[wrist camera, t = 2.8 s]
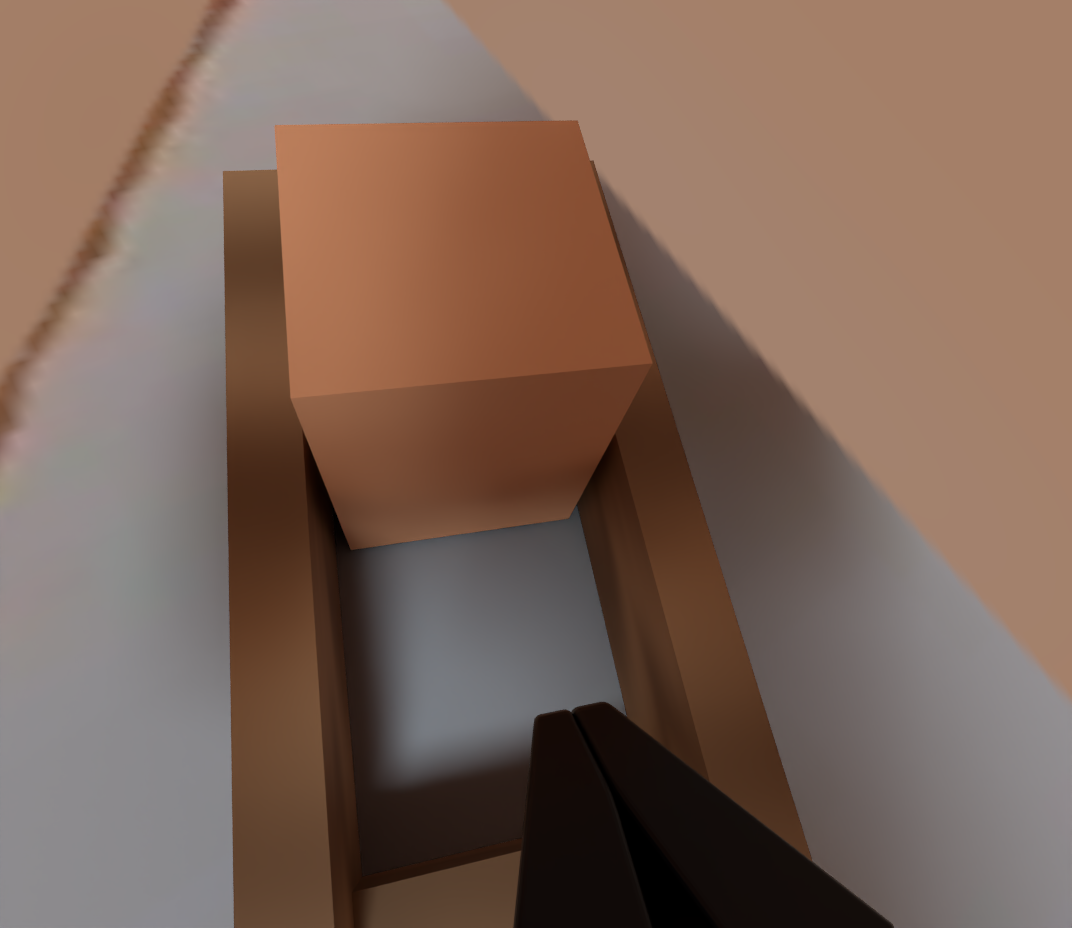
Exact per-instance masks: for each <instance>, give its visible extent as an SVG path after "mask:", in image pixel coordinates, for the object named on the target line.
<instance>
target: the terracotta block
mask: <svg viewBox="0 0 1072 928" xmlns="http://www.w3.org/2000/svg"><path fill="white" fill-rule="evenodd" d="M275 140H276V157H277V174H278V191H279V209H280V226H281V243H282V260H283V278H284V295H285V312H286V329H287V347H288V364H289V381H290V398H291V401H292V403H293V406H294V408H295V411H296V413H297V416H298V418H299V421H300V424H301V426H302V429H303V431H304V434H305V436H306V439H307V441H308V444H309V446H310V449H311V451H312V454H313V456H314V459H315V461H316V464H317V466H318V469H319V471H320V474H321V476H322V479H323V481H324V484H325V486H326V489H327V491H328V494H329V496H330V499H331V501H332V504H333V506H334V509H335V511H336V514H337V516H338V519H339V522H340V524H341V527H342V529H343V532H344V534H345V537H346V539H347V542H348V544H349V547H350V549H351V550H354V549H361V548H368V547H375V546H382V545H389V544H396V543H403V542H410V541H417V540H424V539H431V538H438V537H445V536H451V535H458V534H465V533H472V532H479V531H486V530H493V529H500V528H507V527H514V526H521V525H528V524H535V523H542V522H549V521H555V520H562V519H569V517H570V515H571V513H572V511H573V510H574V508H575V506H576V504H577V502H578V500H579V499H580V497H581V495H582V493H583V491H584V489H585V487H586V486H587V484H588V482H589V480H590V478H591V476H592V475H593V473H594V471H595V469H596V467H597V465H598V463H599V462H600V460H601V458H602V456H603V454H604V452H605V451H606V449H607V447H608V445H609V443H610V441H611V439H612V438H613V436H614V434H615V432H616V430H617V428H618V427H619V425H620V423H621V421H622V419H623V417H624V415H625V414H626V412H627V410H628V408H629V406H630V404H631V403H632V401H633V399H634V397H635V395H636V393H637V391H638V390H639V388H640V386H641V384H642V382H643V380H644V379H645V377H646V375H647V373H648V371H649V369H650V367H651V366H652V364H653V363H652V360H651V356H650V353H649V350H648V347H647V343H646V340H645V337H644V334H643V331H642V327H641V324H640V321H639V318H638V314H637V311H636V308H635V305H634V301H633V298H632V295H631V292H630V289H629V285H628V282H627V279H626V276H625V272H624V269H623V266H622V263H621V260H620V256H619V253H618V250H617V247H616V243H615V240H614V237H613V234H612V231H611V227H610V224H609V221H608V218H607V214H606V211H605V208H604V205H603V202H602V198H601V195H600V192H599V189H598V185H597V182H596V179H595V176H594V173H593V169H592V166H591V163H590V160H589V156H588V153H587V150H586V147H585V143H584V140H583V137H582V134H581V131H580V127H579V124H578V121H518V122H454V123H389V124H325V125H275Z"/></svg>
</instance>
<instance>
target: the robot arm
mask: <svg viewBox="0 0 1072 928" xmlns="http://www.w3.org/2000/svg"><path fill="white" fill-rule="evenodd" d="M513 928H894V926H893V924H892V923H891V922H889V921H888V920H887V919H885V918H884V917H883V916H882V915H880V914H879V913H878V912H876V911H875V910H874V909H873V908H871V907H870V906H869V905H867V904H866V903H865V902H864V901H862V900H861V899H860V898H858V897H857V896H856V895H855V894H853V893H852V892H851V891H849V890H848V889H847V888H846V887H844V886H843V885H842V884H841V883H839V882H838V881H837V880H835V879H834V878H833V877H832V876H830V875H829V874H828V873H826V872H825V871H824V870H823V869H821V868H820V867H819V866H817V865H816V864H815V863H814V862H812V861H811V860H810V859H808V858H807V857H806V856H805V855H803V854H802V853H801V852H799V851H798V850H797V849H796V848H794V847H793V846H792V845H790V844H789V843H788V842H787V841H785V840H784V839H783V838H781V837H780V836H779V835H778V834H776V833H775V832H774V831H772V830H771V829H770V828H769V827H767V826H766V825H765V824H763V823H762V822H761V821H760V820H758V819H757V818H756V817H754V816H753V815H752V814H751V813H749V812H748V811H747V810H745V809H744V808H743V807H742V806H740V805H739V804H738V803H736V802H735V801H734V800H733V799H731V798H730V797H729V796H727V795H726V794H725V793H724V792H722V791H721V790H720V789H718V788H717V787H716V786H715V785H713V784H712V783H711V782H709V781H708V780H707V779H706V778H704V777H703V776H702V775H700V774H699V773H698V772H697V771H695V770H694V769H693V768H691V767H690V766H689V765H688V764H686V763H685V762H684V761H682V760H681V759H680V758H679V757H677V756H676V755H675V754H673V753H672V752H671V751H670V750H668V749H667V748H666V747H664V746H663V745H662V744H661V743H659V742H658V741H657V740H655V739H654V738H653V737H652V736H650V735H649V734H648V733H647V732H645V731H644V730H643V729H641V728H640V727H639V726H638V725H636V724H635V723H634V722H632V721H631V720H630V719H629V718H627V717H626V716H625V715H623V714H622V713H621V712H620V711H618V710H617V709H616V708H614V707H613V706H612V705H610V704H608V703H606V702H598V703H594V704H589V705H584V706H579V707H576V708H574V709H573V710H572V712H570V711H568V710H559V711H555V712H550V713H545V714H540V715H538V716H537V717H536V718H535V720H534V726H533V736H532V746H531V756H530V766H529V776H528V786H527V795H526V805H525V815H524V825H523V835H522V845H521V855H520V865H519V874H518V884H517V894H516V904H515V914H514V924H513Z"/></svg>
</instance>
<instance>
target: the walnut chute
mask: <svg viewBox="0 0 1072 928" xmlns="http://www.w3.org/2000/svg"><path fill="white" fill-rule="evenodd" d="M590 163H591V166H592V169H593V173H594V176H595V179H596V182H597V185H598V189H599V192H600V195H601V198H602V202H603V205H604V208H605V211H606V214H607V218H608V221H609V224H610V227H611V231H612V234H613V237H614V240H615V243H616V247H617V250H618V253H619V256H620V260H621V263H622V266H623V269H624V272H625V276H626V279H627V282H628V285H629V289H630V292H631V295H632V298H633V301H634V305H635V308H636V311H637V314H638V318H639V321H640V324H641V327H642V331H643V334H644V337H645V340H646V343H647V347H648V350H649V353H650V356H651V360H652V363H653V364H652V366H651V367H650V369H649V371H648V373H647V375H646V377H645V379H644V380H643V382H642V384H641V386H640V388H639V390H638V391H637V393H636V395H635V397H634V399H633V401H632V403H631V404H630V406H629V408H628V410H627V412H626V414H625V415H624V417H623V419H622V421H621V423H620V425H619V427H618V428H617V430H616V432H615V434H614V436H613V438H612V439H611V441H610V443H609V445H608V447H607V449H606V451H605V452H604V454H603V456H602V458H601V460H600V462H599V463H598V465H597V467H596V469H595V471H594V473H593V475H592V476H591V478H590V480H589V482H588V484H587V486H586V487H585V489H584V491H583V493H582V495H581V497H580V499H579V500H578V502H577V505H578V509H579V514H580V518H581V522H582V527H583V531H584V535H585V539H586V544H587V548H588V552H589V556H590V561H591V565H592V569H593V573H594V578H595V582H596V586H597V590H598V595H599V599H600V603H601V607H602V612H603V616H604V620H605V624H606V629H607V633H608V637H609V641H610V646H611V650H612V654H613V658H614V663H615V667H616V671H617V675H618V680H619V684H620V688H621V692H622V697H623V701H624V705H625V709H626V714H627V718H629V719H630V720H631V721H632V722H634V723H635V724H636V725H638V726H639V727H640V728H641V729H643V730H644V731H645V732H647V733H648V734H649V735H650V736H652V737H653V738H654V739H655V740H657V741H658V742H659V743H661V744H662V745H663V746H664V747H666V748H667V749H668V750H670V751H671V752H672V753H673V754H675V755H676V756H677V757H679V758H680V759H681V760H682V761H684V762H685V763H686V764H688V765H689V766H690V767H691V768H693V769H694V770H695V771H697V772H698V773H699V774H700V775H702V776H703V777H704V778H706V779H707V780H708V781H709V782H711V783H712V784H713V785H715V786H716V787H717V788H718V789H720V790H721V791H722V792H724V793H725V794H726V795H727V796H729V797H730V798H731V799H733V800H734V801H735V802H736V803H738V804H739V805H740V806H742V807H743V808H744V809H745V810H747V811H748V812H749V813H751V814H752V815H753V816H754V817H756V818H757V819H758V820H760V821H761V822H762V823H763V824H765V825H766V826H767V827H769V828H770V829H771V830H772V831H774V832H775V833H776V834H778V835H779V836H780V837H781V838H783V839H784V840H785V841H787V842H788V843H789V844H790V845H792V846H793V847H794V848H796V849H797V850H798V851H799V852H801V853H802V854H803V855H805V856H806V857H807V858H808V859H810V860H811V861H812V858H811V855H810V852H809V849H808V845H807V842H806V839H805V836H804V833H803V829H802V826H801V823H800V820H799V817H798V813H797V810H796V807H795V804H794V801H793V798H792V794H791V791H790V788H789V785H788V782H787V778H786V775H785V772H784V769H783V766H782V762H781V759H780V756H779V753H778V750H777V746H776V743H775V740H774V737H773V734H772V730H771V727H770V724H769V721H768V718H767V714H766V711H765V708H764V705H763V702H762V698H761V695H760V692H759V689H758V686H757V682H756V679H755V676H754V673H753V670H752V666H751V663H750V660H749V657H748V654H747V650H746V647H745V644H744V641H743V638H742V635H741V631H740V628H739V625H738V622H737V619H736V615H735V612H734V609H733V606H732V603H731V599H730V596H729V593H728V590H727V587H726V583H725V580H724V577H723V574H722V571H721V567H720V564H719V561H718V558H717V555H716V551H715V548H714V545H713V542H712V539H711V535H710V532H709V529H708V526H707V523H706V519H705V516H704V513H703V510H702V507H701V503H700V500H699V497H698V494H697V491H696V487H695V484H694V481H693V478H692V475H691V472H690V468H689V465H688V462H687V459H686V456H685V452H684V449H683V446H682V443H681V440H680V436H679V433H678V430H677V427H676V424H675V420H674V417H673V414H672V411H671V408H670V404H669V401H668V398H667V395H666V392H665V388H664V385H663V382H662V379H661V376H660V372H659V369H658V366H657V363H656V360H655V356H654V353H653V350H652V347H651V344H650V340H649V337H648V334H647V331H646V328H645V324H644V321H643V318H642V315H641V312H640V309H639V305H638V302H637V299H636V296H635V293H634V289H633V286H632V283H631V280H630V277H629V273H628V270H627V267H626V264H625V261H624V257H623V254H622V251H621V248H620V245H619V241H618V238H617V235H616V232H615V229H614V225H613V222H612V219H611V216H610V213H609V209H608V206H607V203H606V200H605V197H604V193H603V190H602V187H601V184H600V181H599V177H598V174H597V171H596V168H595V165H594V161H590ZM223 203H224V271H225V339H226V408H227V476H228V544H229V612H230V681H231V749H232V817H233V886H234V928H513V924H514V914H515V904H516V894H517V884H518V874H519V865H520V855H521V845H522V838H519V839H515V840H511V841H507V842H503V843H498V844H494V845H490V846H486V847H482V848H478V849H474V850H470V851H466V852H462V853H457V854H453V855H449V856H445V857H441V858H437V859H433V860H429V861H425V862H421V863H416V864H412V865H408V866H404V867H400V868H396V869H392V870H388V871H384V872H380V873H375V874H371V875H367V876H363V877H362V868H361V856H360V843H359V831H358V818H357V806H356V794H355V781H354V769H353V756H352V744H351V731H350V719H349V707H348V694H347V682H346V669H345V657H344V644H343V632H342V619H341V607H340V595H339V582H338V570H337V557H336V545H335V532H334V520H333V508H332V501H331V499H330V496H329V494H328V491H327V489H326V486H325V484H324V481H323V479H322V476H321V474H320V471H319V469H318V466H317V464H316V461H315V459H314V456H313V454H312V451H311V449H310V446H309V444H308V441H307V439H306V436H305V434H304V431H303V429H302V426H301V424H300V421H299V418H298V416H297V413H296V411H295V408H294V406H293V403H292V401H291V398H290V381H289V364H288V347H287V329H286V312H285V295H284V278H283V260H282V243H281V226H280V209H279V191H278V174H277V170H250V171H223ZM812 862H813V861H812Z"/></svg>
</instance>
